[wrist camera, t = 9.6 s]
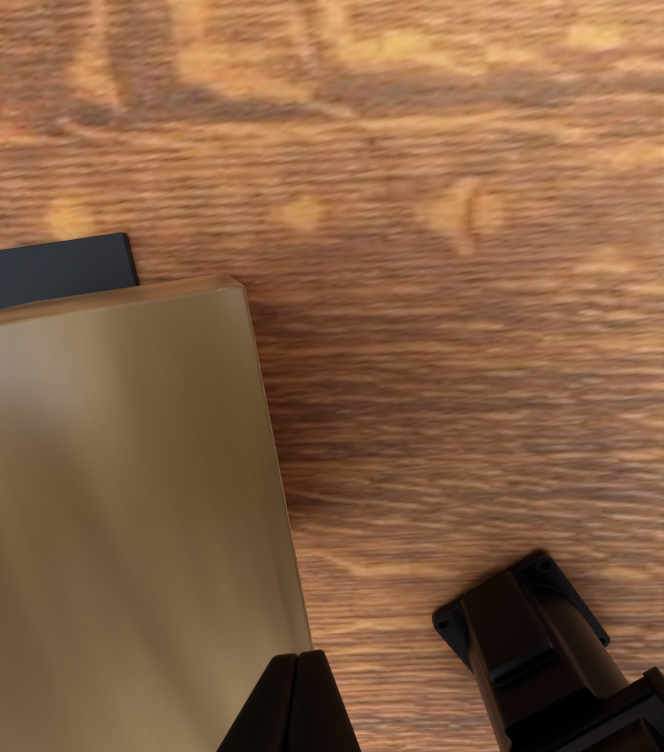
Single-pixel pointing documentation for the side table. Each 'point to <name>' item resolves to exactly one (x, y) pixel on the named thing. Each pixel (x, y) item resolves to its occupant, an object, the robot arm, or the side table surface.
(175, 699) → the wooden box
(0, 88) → the side table surface
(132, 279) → the mat
